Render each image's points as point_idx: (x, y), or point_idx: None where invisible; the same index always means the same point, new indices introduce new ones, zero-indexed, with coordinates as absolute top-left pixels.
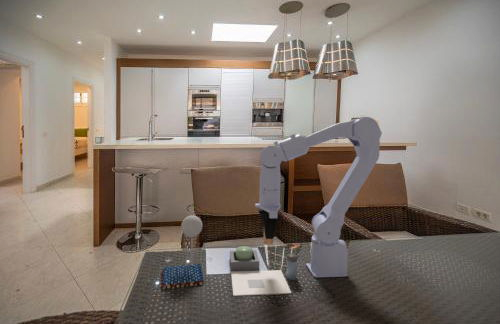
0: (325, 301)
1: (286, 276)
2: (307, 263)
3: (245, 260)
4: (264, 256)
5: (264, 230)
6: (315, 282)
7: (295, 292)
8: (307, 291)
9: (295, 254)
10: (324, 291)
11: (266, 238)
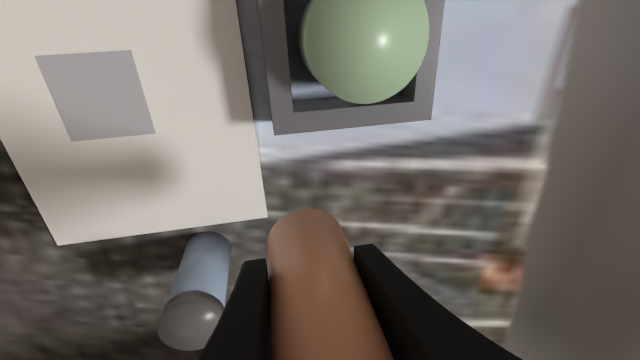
0: (41, 335)
1: (201, 236)
2: None
3: (284, 46)
4: (423, 152)
5: (245, 311)
6: None
7: (77, 256)
8: (99, 293)
9: None
10: (116, 337)
11: (242, 266)
